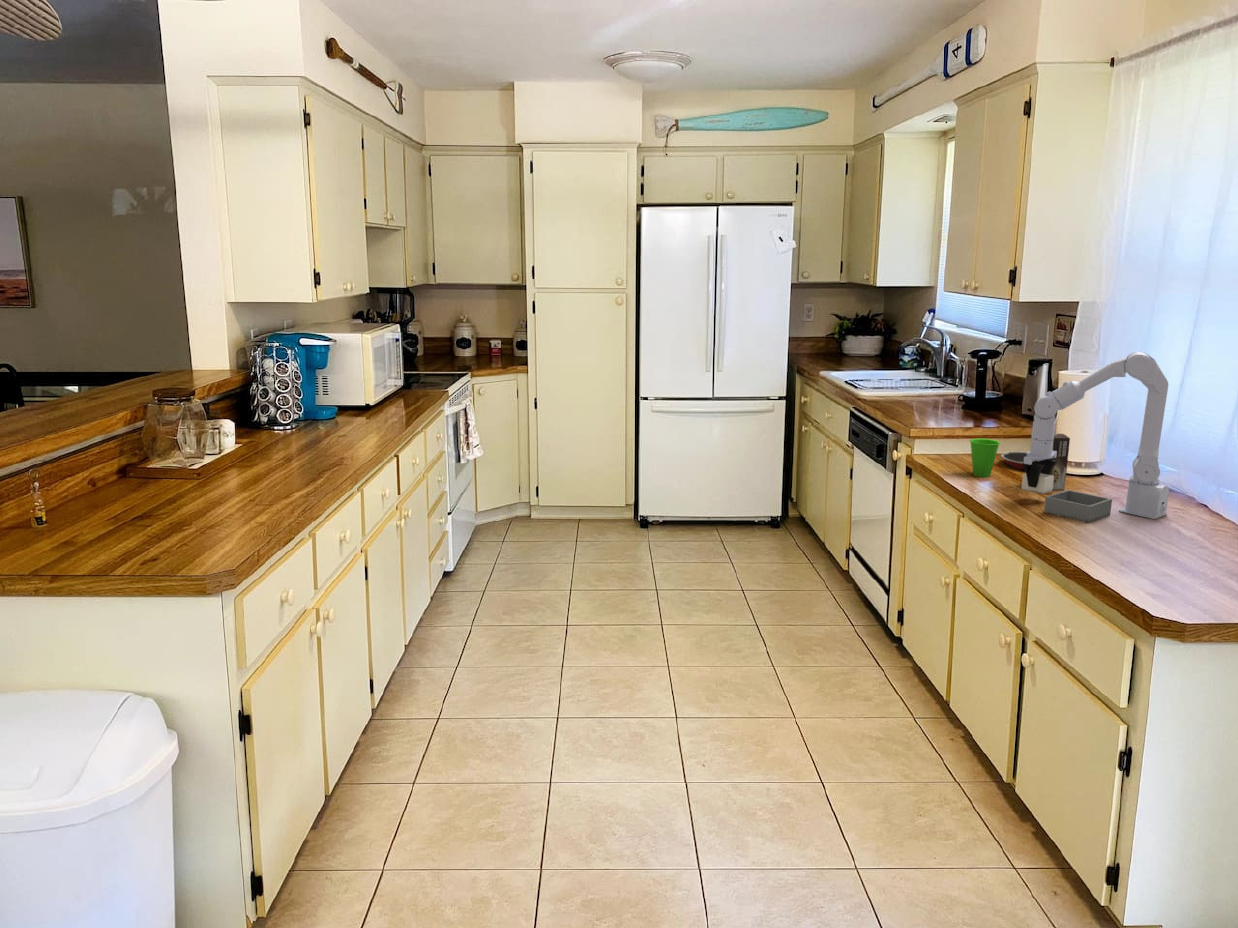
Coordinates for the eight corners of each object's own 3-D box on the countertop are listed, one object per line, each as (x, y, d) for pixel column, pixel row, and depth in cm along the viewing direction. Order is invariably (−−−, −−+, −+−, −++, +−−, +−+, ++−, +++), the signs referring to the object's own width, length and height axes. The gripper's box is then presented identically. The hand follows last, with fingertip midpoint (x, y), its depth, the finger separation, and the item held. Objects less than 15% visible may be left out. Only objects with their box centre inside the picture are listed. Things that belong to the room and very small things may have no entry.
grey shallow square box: (1110, 515, 254) (1112, 499, 253) (1088, 522, 246) (1090, 506, 245) (1066, 505, 263) (1067, 489, 262) (1043, 512, 256) (1045, 496, 255)
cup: (960, 473, 299) (963, 439, 296) (981, 470, 302) (984, 437, 300) (981, 479, 291) (985, 445, 288) (1003, 476, 294) (1006, 442, 292)
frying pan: (1048, 460, 317) (1049, 450, 317) (1089, 484, 286) (1090, 472, 286) (992, 459, 319) (993, 449, 318) (1026, 483, 287) (1027, 471, 287)
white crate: (1052, 491, 266) (1054, 475, 265) (1043, 493, 263) (1044, 478, 262) (1030, 486, 271) (1032, 471, 270) (1021, 489, 268) (1023, 474, 267)
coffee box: (1057, 484, 285) (1063, 433, 281) (1065, 490, 279) (1071, 437, 275) (1026, 483, 286) (1032, 432, 282) (1033, 489, 280) (1039, 436, 276)
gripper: (1042, 433, 271) (1037, 478, 274) (1015, 439, 262) (1010, 486, 265) (1065, 437, 266) (1060, 483, 269) (1039, 443, 257) (1034, 491, 260)
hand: (1037, 485), depth 267 cm, fingers closed on white crate, 5 cm apart
